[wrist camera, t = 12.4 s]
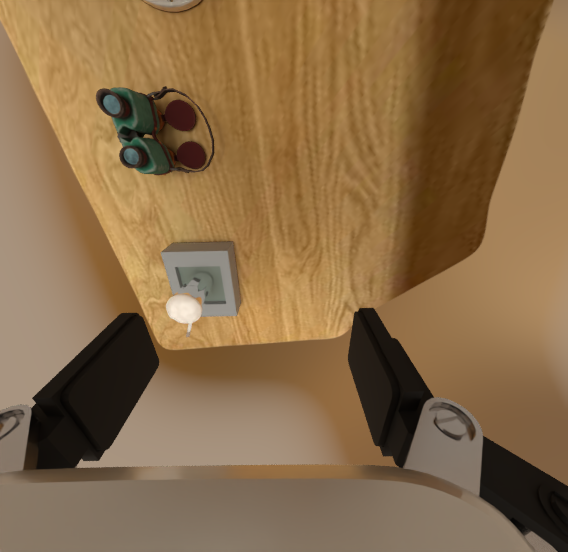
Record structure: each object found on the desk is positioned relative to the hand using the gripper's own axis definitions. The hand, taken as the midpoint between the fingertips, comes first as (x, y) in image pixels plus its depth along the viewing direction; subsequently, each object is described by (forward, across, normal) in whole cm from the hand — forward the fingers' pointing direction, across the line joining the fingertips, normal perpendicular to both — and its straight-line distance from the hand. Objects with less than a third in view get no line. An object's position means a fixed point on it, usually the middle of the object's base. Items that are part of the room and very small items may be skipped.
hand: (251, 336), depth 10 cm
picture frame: (+28, +12, +11) cm, 33 cm away
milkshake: (+25, +12, +11) cm, 30 cm away
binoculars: (+29, +12, -10) cm, 33 cm away
